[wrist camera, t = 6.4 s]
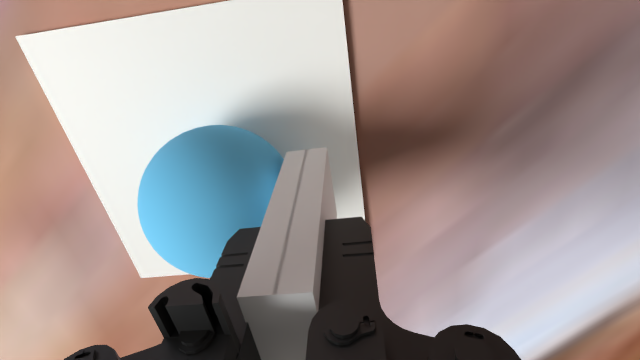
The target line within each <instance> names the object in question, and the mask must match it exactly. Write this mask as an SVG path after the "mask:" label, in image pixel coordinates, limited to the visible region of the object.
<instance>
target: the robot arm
mask: <svg viewBox="0 0 640 360" xmlns="http://www.w3.org/2000/svg"><path fill="white" fill-rule="evenodd" d="M148 309H149V311H150V312H151V314H152V316H153V318H154V320H155V322H156V324H157V326H158V327H159V329H160V331H161V333H162V335H163V337H164V339H163V341H162V343H161V344H159V345H157V346H154V347H152V348H149V349H146V350H143V351H140V352H137V353H134V354H131V355H128V356H125V357H122V358H120V357H119V356H118V354H117V353H116V351H115V350H114V349H113V348H111V347H109V346H107V345H93V346H90V347H87V348H84V349H81V350H79V351H77V352H76V353H74V354H72V355H70V356H69V357H67V358H65V359H64V360H521V359H520V357H519V356H518V355H517V354H516V352H515V351H514V350H513V349H512V348H511V347H510V346H509V345H508V344H507V343H506V342H505V341H504V340H503V339H502V338H501V337H500V336H498V335H496V334H494V333H492V332H490V331H488V330H486V329H485V328H481V327H476V326H472V325H455V326H450V327H448V328H446V329H444V330H442V331H440V332H439V333H438V334H437V335H436V336H435V338H434V337H430V336H426V335H422V334H418V333H414V332H411V331H408V330H405V329H403V328H401V327H399V326H398V325H396V324H394V323H393V322H392V321H391V320H390V319H389V318H388V317H387V316H386V315H385V313H384V312H383V310H382V309H381V306H380V302H379V296H378V287H377V279H376V270H375V261H374V253H373V244H372V235H371V227H370V226H369V225H368V224H367V223H366V221H365V220H364V219H363V218H362V217H351V218H340V219H337V210H336V204H335V197H334V191H333V184H332V177H331V171H330V164H329V157H328V151H327V147H325V148H316V149H308V150H299V151H290V152H286V155H285V158H284V161H283V164H282V167H281V170H280V172H279V175H278V178H277V181H276V184H275V187H274V190H273V193H272V196H271V199H270V202H269V205H268V207H267V210H266V213H265V216H264V219H263V222H262V225H261V227H254V228H242V229H239V230H238V231H237V232H236V233H235V234H234V235H233V236H232V237H231V238H230V239H229V240H228V241H227V243H226V245H225V247H224V249H223V252H222V254H221V257H220V258H219V260H218V263H217V265H216V269H214V271H213V274H212V276H211V278H210V280H209V279H201V278H194V279H190V280H185V281H182V282H179V283H177V284H175V285H173V286H171V287H169V288H168V289H166V290H165V291H164V292H162V293H161V294H159V295H158V296H157V297H156V298H155V299H154V301H153V302H152V303H151V304H150V305H149V307H148Z"/></svg>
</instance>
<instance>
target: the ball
mask: <svg viewBox="0 0 640 360" xmlns="http://www.w3.org/2000/svg"><path fill="white" fill-rule="evenodd" d="M283 161H284V159H283V157H282V156H281V155H280V153H279V152H278V151H277V150H276V149H275V148H274V147H273V146H272V145H271V144H270V143H269V142H267V141H266V140H264V139H263V138H262V137H260V136H258V135H256V134H254V133H252V132H250V131H248V130H245V129H242V128H238V127H235V126H228V125H209V126H203V127H197V128H194V129H192V130H189V131H186V132H183V133H181V134H180V135H178V136H176V137H175V138H173V139H171V140H170V141H169V142H167V143H166V144H165V145H164V146H163V147H161V148H160V149H159V150H158V152H157V153H156V154H155V155H154V156H153V158H152V159H151V161H150V162H149V164H148V165H147V167H146V169H145V171H144V173H143V176H142V178H141V181H140V186H139V190H138V215H139V220H140V224H141V227H142V230H143V232H144V234H145V236H146V238H147V240H148V241H149V243H150V244H151V246H152V247H153V249H154V250H155V251H156V252H157V253H158V254H159V255H160V256H161V257H162V258H163V259H164V260H165V261H167V262H168V263H169V264H171V265H172V266H174V267H176V268H178V269H179V270H181V271H184V272H186V273H189V274H192V275H196V276H200V277H207V278H211V276H212V274H213V271H214V269H216V265H217V263H218V260H219V258H220V257H221V254H222V252H223V249H224V247H225V245H226V243H227V241H228V240H229V239H230V238H231V237H232V236H233V235H234V234H235V233H236V232H237V231H238V230H239V229H242V228H254V227H261V225H262V222H263V219H264V216H265V213H266V210H267V207H268V205H269V202H270V199H271V196H272V193H273V190H274V187H275V184H276V181H277V178H278V175H279V172H280V170H281V167H282V164H283Z"/></svg>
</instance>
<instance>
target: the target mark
mask: <svg viewBox="0 0 640 360" xmlns="http://www.w3.org/2000/svg"><path fill="white" fill-rule="evenodd" d="M16 39H17V41H18V43H19V45H20V47H21V48H22V50H23V52H24V54H25V56H26V58H27V60H28V62H29V64H30V66H31V68H32V70H33V71H34V73H35V75H36V77H37V79H38V81H39V83H40V85H41V87H42V89H43V91H44V93H45V94H46V96H47V98H48V100H49V102H50V104H51V106H52V108H53V110H54V112H55V114H56V116H57V117H58V119H59V121H60V123H61V125H62V127H63V129H64V131H65V133H66V135H67V137H68V139H69V141H70V142H71V144H72V146H73V148H74V150H75V152H76V154H77V156H78V158H79V160H80V162H81V164H82V165H83V167H84V169H85V171H86V173H87V175H88V177H89V179H90V181H91V183H92V185H93V187H94V188H95V190H96V192H97V194H98V196H99V198H100V200H101V202H102V204H103V206H104V208H105V210H106V211H107V213H108V215H109V217H110V219H111V221H112V223H113V225H114V227H115V229H116V231H117V233H118V234H119V236H120V238H121V240H122V242H123V244H124V246H125V248H126V250H127V252H128V254H129V256H130V258H131V259H132V261H133V263H134V265H135V267H136V269H137V271H138V273H139V275H140V277H141V278H147V277H160V276H173V275H185V274H189V273H186V272H184V271H181V270H179V269H178V268H176V267H174V266H172V265H171V264H169V263H168V262H167V261H165V260H164V259H163V258H162V257H161V256H160V255H159V254H158V253H157V252H156V251H155V250H154V249H153V247H152V246H151V244H150V243H149V241H148V240H147V238H146V236H145V234H144V232H143V230H142V227H141V224H140V220H139V215H138V190H139V186H140V181H141V178H142V176H143V173H144V171H145V169H146V167H147V165H148V164H149V162H150V161H151V159H152V158H153V156H154V155H155V154H156V153H157V152H158V150H159V149H160V148H161V147H163V146H164V145H165V144H166V143H167V142H169V141H170V140H171V139H173V138H175V137H176V136H178V135H180V134H181V133H183V132H186V131H189V130H192V129H194V128H197V127H203V126H209V125H228V126H235V127H238V128H242V129H245V130H248V131H250V132H252V133H254V134H256V135H258V136H260V137H262V138H263V139H264V140H266V141H267V142H269V143H270V144H271V145H272V146H273V147H274V148H275V149H276V150H277V151H278V152H279V153H280V155H281V156H282V157H283V159H284V158H285V155H286V152H290V151H299V150H308V149H316V148H325V147H327V151H328V157H329V164H330V171H331V177H332V184H333V191H334V197H335V204H336V210H337V219H340V218H351V217H362V218H363V219H364V220H365V214H364V204H363V194H362V185H361V175H360V165H359V156H358V146H357V136H356V127H355V117H354V108H353V98H352V88H351V79H350V69H349V59H348V50H347V40H346V31H345V21H344V11H343V2H342V0H230V1H224V2H218V3H212V4H206V5H200V6H194V7H188V8H182V9H176V10H170V11H164V12H158V13H152V14H147V15H141V16H135V17H129V18H123V19H117V20H111V21H105V22H99V23H93V24H87V25H81V26H75V27H69V28H63V29H57V30H51V31H46V32H40V33H34V34H28V35H22V36H16Z"/></svg>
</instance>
